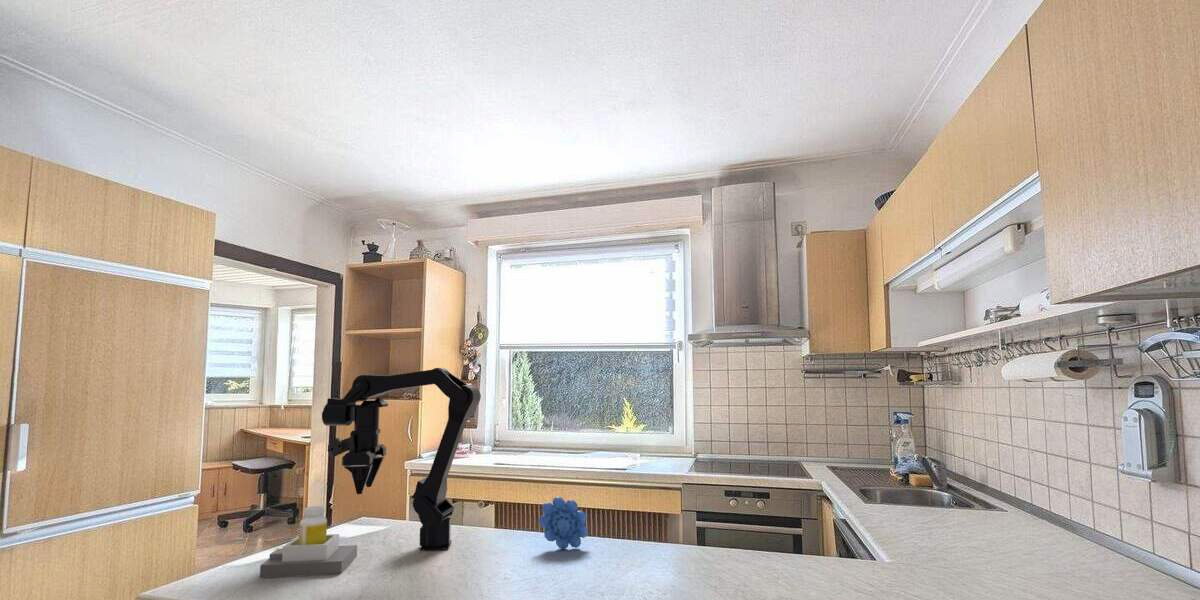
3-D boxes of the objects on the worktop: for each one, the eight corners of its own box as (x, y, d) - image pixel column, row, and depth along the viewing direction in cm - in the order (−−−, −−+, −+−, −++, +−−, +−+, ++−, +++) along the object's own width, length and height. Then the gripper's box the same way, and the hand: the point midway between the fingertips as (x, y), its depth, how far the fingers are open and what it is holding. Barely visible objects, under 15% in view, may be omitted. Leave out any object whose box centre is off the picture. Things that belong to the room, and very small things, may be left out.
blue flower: (537, 555, 137) (537, 500, 138) (539, 546, 144) (539, 494, 145) (588, 554, 137) (588, 499, 139) (588, 545, 144) (587, 493, 146)
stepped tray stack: (356, 556, 137) (357, 531, 138) (341, 573, 125) (342, 546, 126) (282, 560, 135) (283, 534, 136) (259, 577, 123) (261, 550, 124)
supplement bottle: (331, 551, 132) (333, 505, 134) (312, 559, 127) (314, 511, 129) (312, 549, 134) (314, 504, 135) (292, 556, 129) (294, 509, 130)
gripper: (343, 423, 158) (340, 484, 156) (320, 429, 139) (316, 499, 137) (387, 422, 159) (385, 483, 157) (370, 428, 141) (367, 497, 139)
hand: (364, 490), depth 148 cm, fingers open, 9 cm apart
